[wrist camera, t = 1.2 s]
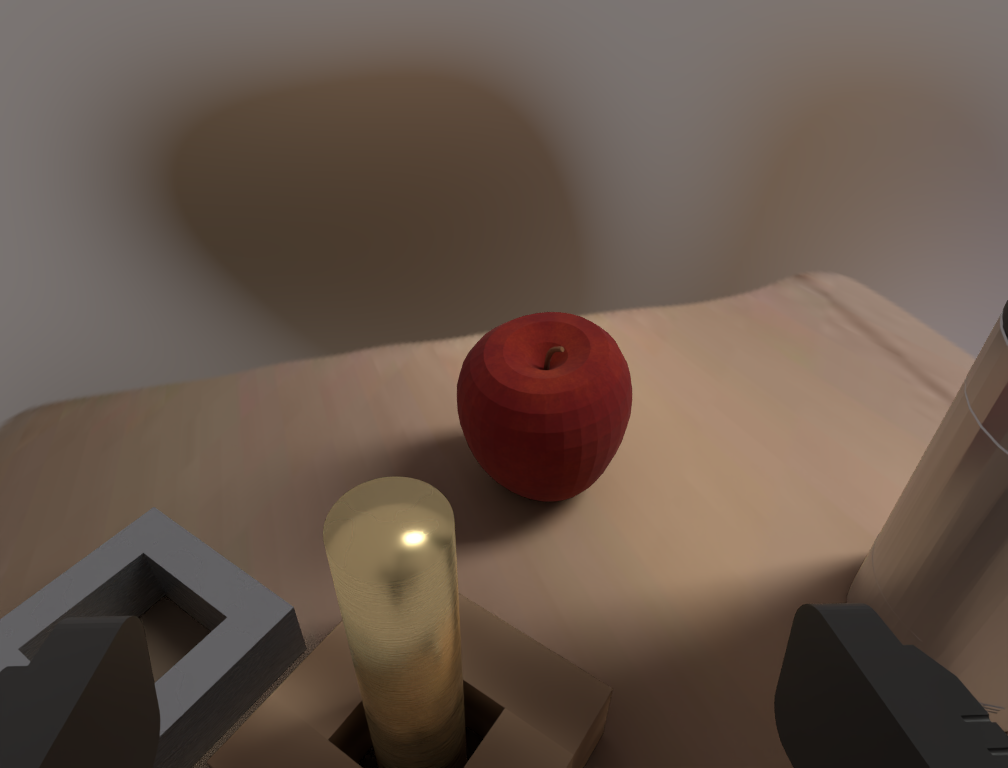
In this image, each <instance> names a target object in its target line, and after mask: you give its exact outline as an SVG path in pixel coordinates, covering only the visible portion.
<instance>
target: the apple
mask: <svg viewBox="0 0 1008 768" xmlns="http://www.w3.org/2000/svg"><path fill="white" fill-rule="evenodd" d="M631 405H632V384H631V378H630V372H629V368H628V365H627V362H626V360H625V358H624V356H623V354H622V353H621V351H620V349H619V347H618V345H617V343H616V341H615V340H614V339H613V338H612V337H611V336H610V335H609V334H608V333H607V332H606V331H605V330H603V329H602V328H601V327H599V326H598V325H596V324H594V323H593V322H591V321H589V320H587V319H585V318H583V317H580V316H576V315H573V314H567V313H561V312H545V313H536V314H531V315H526V316H522V317H519V318H517V319H514V320H511V321H509V322H507V323H504V324H502V325H500V326H498V327H495V328H494V329H492V330H491V331H489V332H488V333H486V334H485V335H484V336H483V337H482V338H481V339H480V340H479V341H478V342H477V343H476V345H475V346H474V347H473V348H472V349H471V350H470V352H469V353H468V355H467V357H466V358H465V360H464V362H463V365H462V368H461V372H460V375H459V379H458V384H457V407H458V415H459V420H460V424H461V427H462V430H463V433H464V435H465V438H466V441H467V443H468V446H469V448H470V450H471V451H472V453H473V455H474V457H475V458H476V460H477V461H478V462H479V464H480V465H481V467H482V468H483V469H484V470H485V471H486V472H487V473H488V474H489V475H490V476H491V477H492V478H493V479H494V480H495V481H496V482H497V483H499V484H501V485H502V486H504V487H505V488H507V489H508V490H510V491H512V492H514V493H516V494H518V495H520V496H523V497H526V498H529V499H532V500H538V501H560V500H566V499H569V498H572V497H574V496H576V495H578V494H579V493H581V492H583V491H584V490H586V489H588V488H589V487H590V486H591V485H592V484H593V483H594V482H595V481H596V480H597V479H598V478H599V477H600V476H601V475H602V473H603V472H604V471H605V469H606V468H607V466H608V465H609V463H610V462H611V460H612V458H613V457H614V455H615V454H616V452H617V450H618V448H619V446H620V444H621V442H622V439H623V436H624V433H625V431H626V428H627V424H628V421H629V418H630V414H631Z"/></svg>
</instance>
